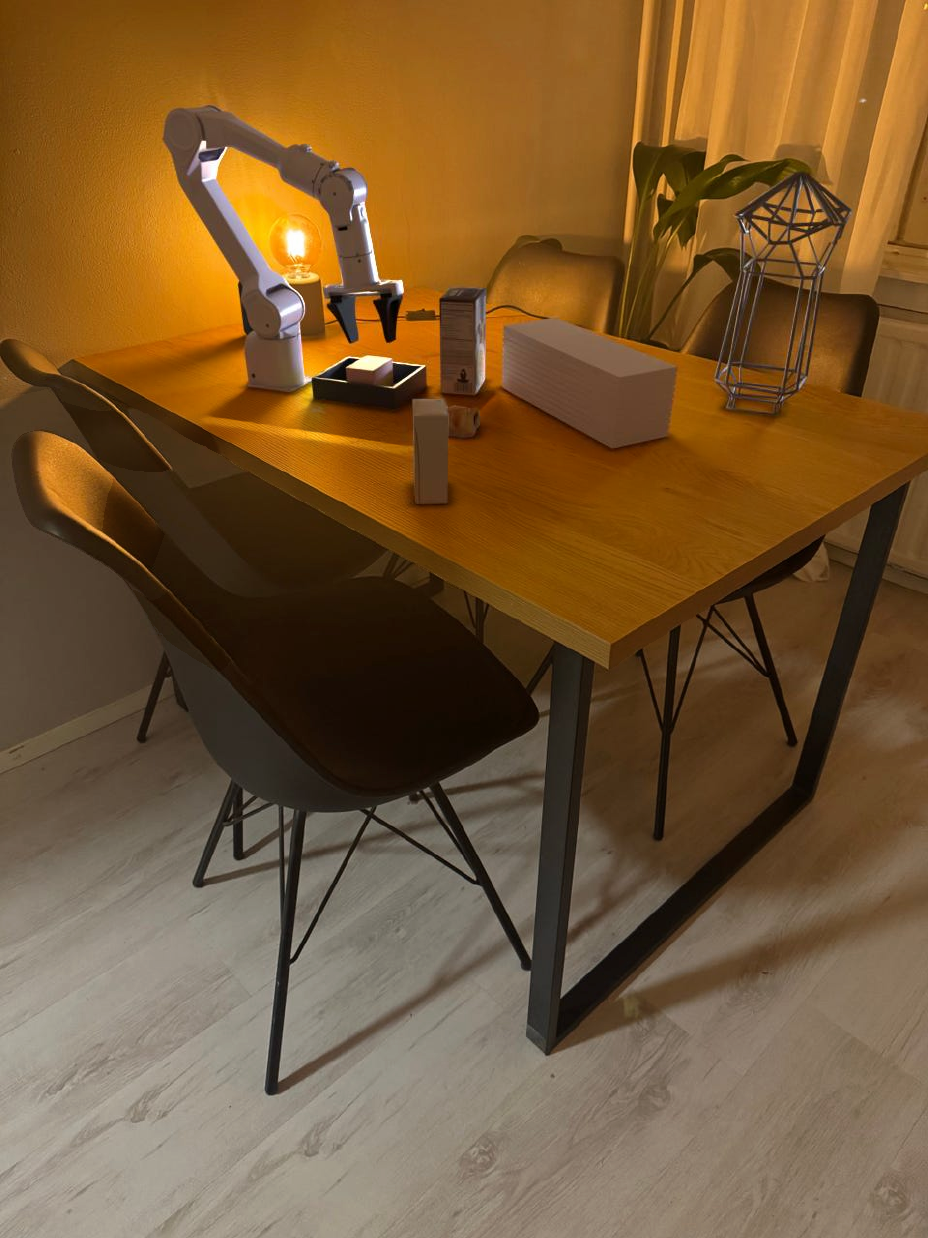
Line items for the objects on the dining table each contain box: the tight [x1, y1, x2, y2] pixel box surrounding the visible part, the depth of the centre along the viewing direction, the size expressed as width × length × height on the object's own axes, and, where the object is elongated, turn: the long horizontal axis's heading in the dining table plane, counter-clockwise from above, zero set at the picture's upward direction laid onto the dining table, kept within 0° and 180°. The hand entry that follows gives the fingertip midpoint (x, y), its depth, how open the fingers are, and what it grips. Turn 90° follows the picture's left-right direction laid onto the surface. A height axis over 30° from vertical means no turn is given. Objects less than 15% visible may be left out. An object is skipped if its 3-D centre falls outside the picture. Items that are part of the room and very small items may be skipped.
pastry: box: [447, 405, 482, 439], centre depth 135 cm, size 9×7×4 cm
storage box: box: [311, 356, 428, 411], centre depth 149 cm, size 15×13×4 cm
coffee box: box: [438, 286, 487, 396], centre depth 149 cm, size 9×6×16 cm
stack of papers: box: [501, 317, 679, 450], centre depth 140 cm, size 32×11×11 cm, turn 29°
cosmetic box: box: [412, 397, 449, 505], centre depth 112 cm, size 6×4×12 cm
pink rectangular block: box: [346, 354, 394, 387], centre depth 148 cm, size 5×8×5 cm, turn 159°
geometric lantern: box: [713, 170, 853, 416], centre depth 136 cm, size 16×16×35 cm
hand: (372, 341), depth 145 cm, fingers open, 7 cm apart
